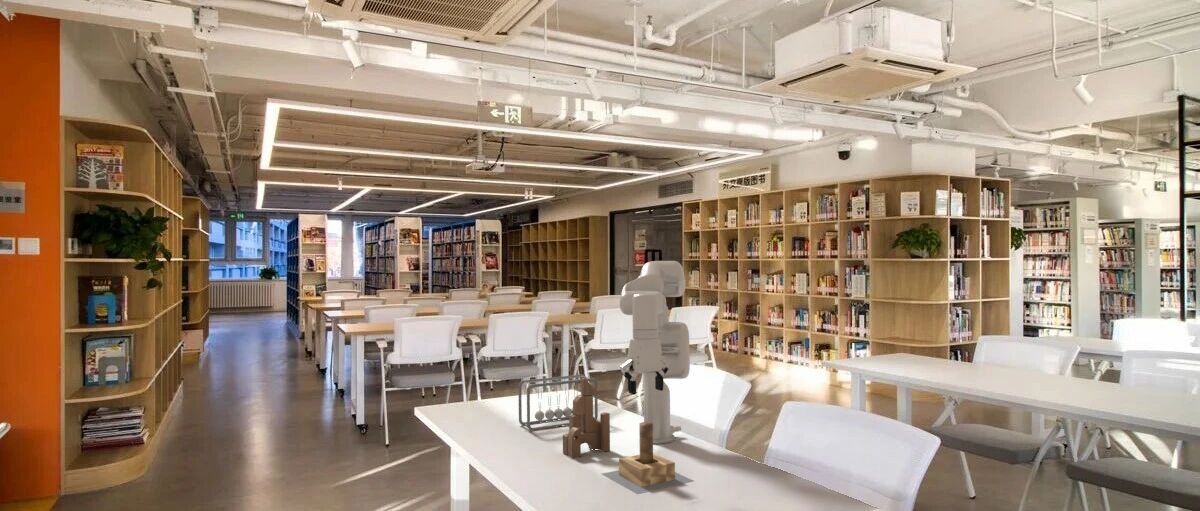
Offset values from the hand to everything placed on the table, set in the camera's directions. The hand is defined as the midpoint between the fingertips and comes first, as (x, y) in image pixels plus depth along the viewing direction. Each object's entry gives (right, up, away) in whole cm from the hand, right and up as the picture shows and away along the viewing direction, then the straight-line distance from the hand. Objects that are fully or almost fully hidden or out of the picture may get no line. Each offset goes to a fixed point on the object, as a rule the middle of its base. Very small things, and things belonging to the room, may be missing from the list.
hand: (645, 391), depth 199 cm
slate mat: (0, -26, 0) cm, 26 cm away
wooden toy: (-18, -26, +27) cm, 42 cm away
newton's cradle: (-30, -27, +66) cm, 77 cm away
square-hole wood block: (0, -26, 0) cm, 26 cm away
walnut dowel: (0, -26, 0) cm, 26 cm away
